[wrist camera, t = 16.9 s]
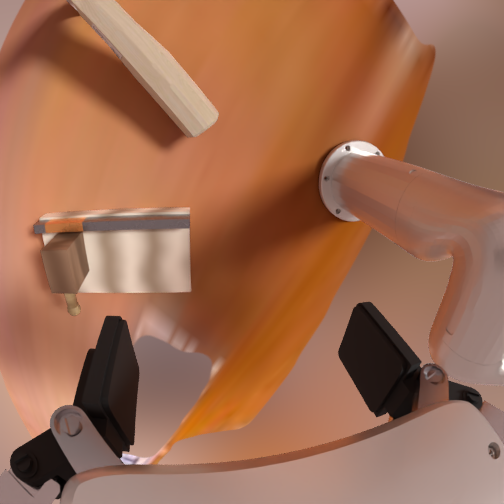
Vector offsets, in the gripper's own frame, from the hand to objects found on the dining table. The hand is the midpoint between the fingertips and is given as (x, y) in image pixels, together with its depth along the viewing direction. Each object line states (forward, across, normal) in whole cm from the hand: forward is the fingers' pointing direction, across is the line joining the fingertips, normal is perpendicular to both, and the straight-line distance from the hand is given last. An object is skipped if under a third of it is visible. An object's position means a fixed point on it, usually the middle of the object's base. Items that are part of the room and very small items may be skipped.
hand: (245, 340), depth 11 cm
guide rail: (+26, +13, +4) cm, 29 cm away
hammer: (+28, +10, -19) cm, 36 cm away
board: (+28, +13, +9) cm, 32 cm away
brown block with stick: (+26, +19, +10) cm, 34 cm away
